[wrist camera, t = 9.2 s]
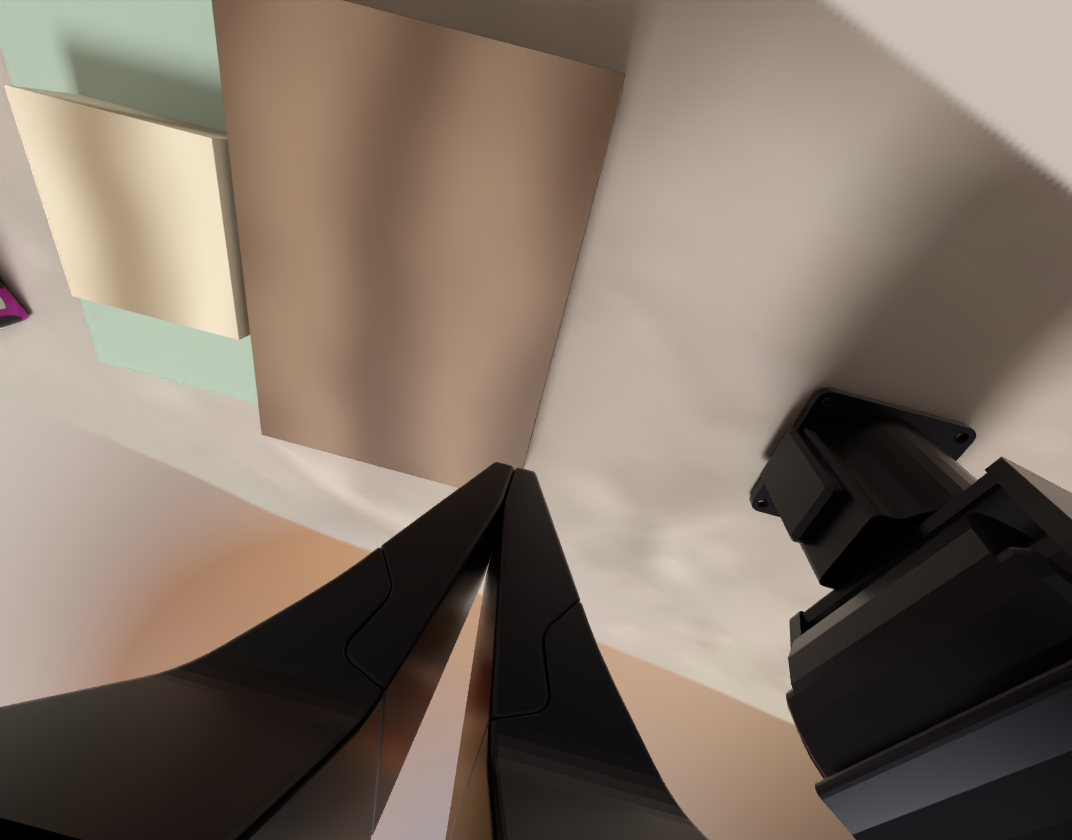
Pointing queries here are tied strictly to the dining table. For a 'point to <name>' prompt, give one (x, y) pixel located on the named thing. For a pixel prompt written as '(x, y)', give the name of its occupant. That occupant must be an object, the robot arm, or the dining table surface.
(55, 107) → the birch block
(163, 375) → the sage mat
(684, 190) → the dining table surface
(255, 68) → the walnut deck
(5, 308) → the candy bar box
